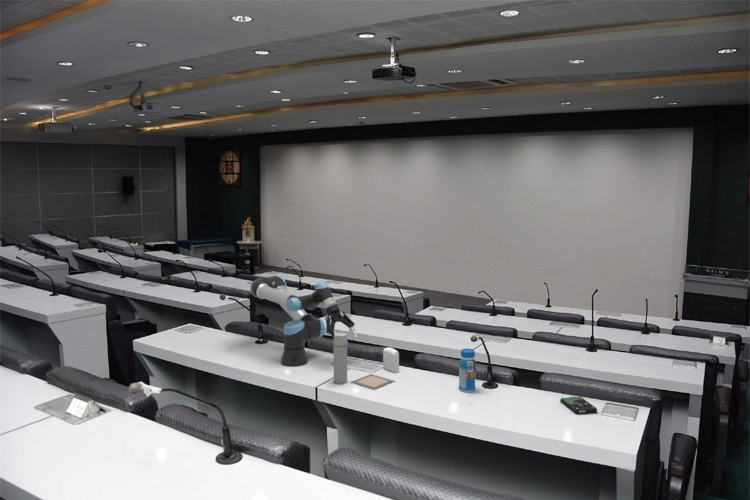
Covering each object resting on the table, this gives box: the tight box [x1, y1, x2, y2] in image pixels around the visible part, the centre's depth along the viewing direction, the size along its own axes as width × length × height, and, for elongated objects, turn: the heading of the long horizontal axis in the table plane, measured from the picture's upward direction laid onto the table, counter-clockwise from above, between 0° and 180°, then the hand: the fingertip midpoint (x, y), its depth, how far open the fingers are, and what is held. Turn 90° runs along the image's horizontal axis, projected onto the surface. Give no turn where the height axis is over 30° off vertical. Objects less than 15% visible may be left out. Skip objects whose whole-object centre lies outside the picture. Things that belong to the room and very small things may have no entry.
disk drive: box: [559, 396, 598, 415], centre depth 250 cm, size 10×3×15 cm
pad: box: [350, 373, 395, 391], centre depth 282 cm, size 16×16×1 cm
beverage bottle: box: [458, 348, 477, 393], centre depth 271 cm, size 8×8×20 cm
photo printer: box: [382, 347, 400, 373], centre depth 301 cm, size 10×4×12 cm, turn 39°
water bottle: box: [332, 332, 349, 385], centre depth 282 cm, size 9×8×25 cm
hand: (347, 340), depth 304 cm, fingers open, 13 cm apart
